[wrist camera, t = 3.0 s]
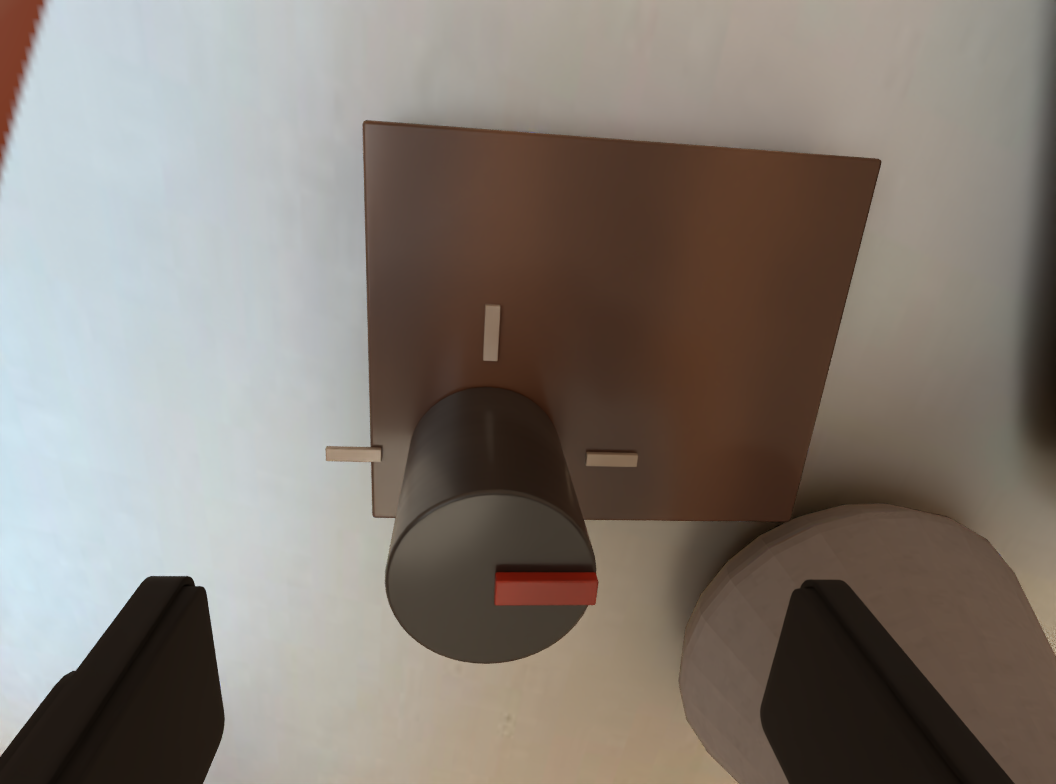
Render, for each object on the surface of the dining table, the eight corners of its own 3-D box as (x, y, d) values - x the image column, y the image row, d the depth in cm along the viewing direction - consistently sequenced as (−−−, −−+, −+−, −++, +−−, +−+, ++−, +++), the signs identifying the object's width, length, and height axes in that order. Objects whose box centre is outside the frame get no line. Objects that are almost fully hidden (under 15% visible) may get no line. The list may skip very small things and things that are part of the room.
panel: (352, 522, 21) (333, 585, 18) (336, 120, 16) (307, 115, 13) (736, 526, 22) (778, 585, 19) (818, 156, 18) (887, 159, 15)
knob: (408, 520, 17) (383, 679, 12) (408, 383, 16) (380, 498, 11) (554, 521, 18) (588, 675, 13) (566, 388, 16) (612, 501, 11)
